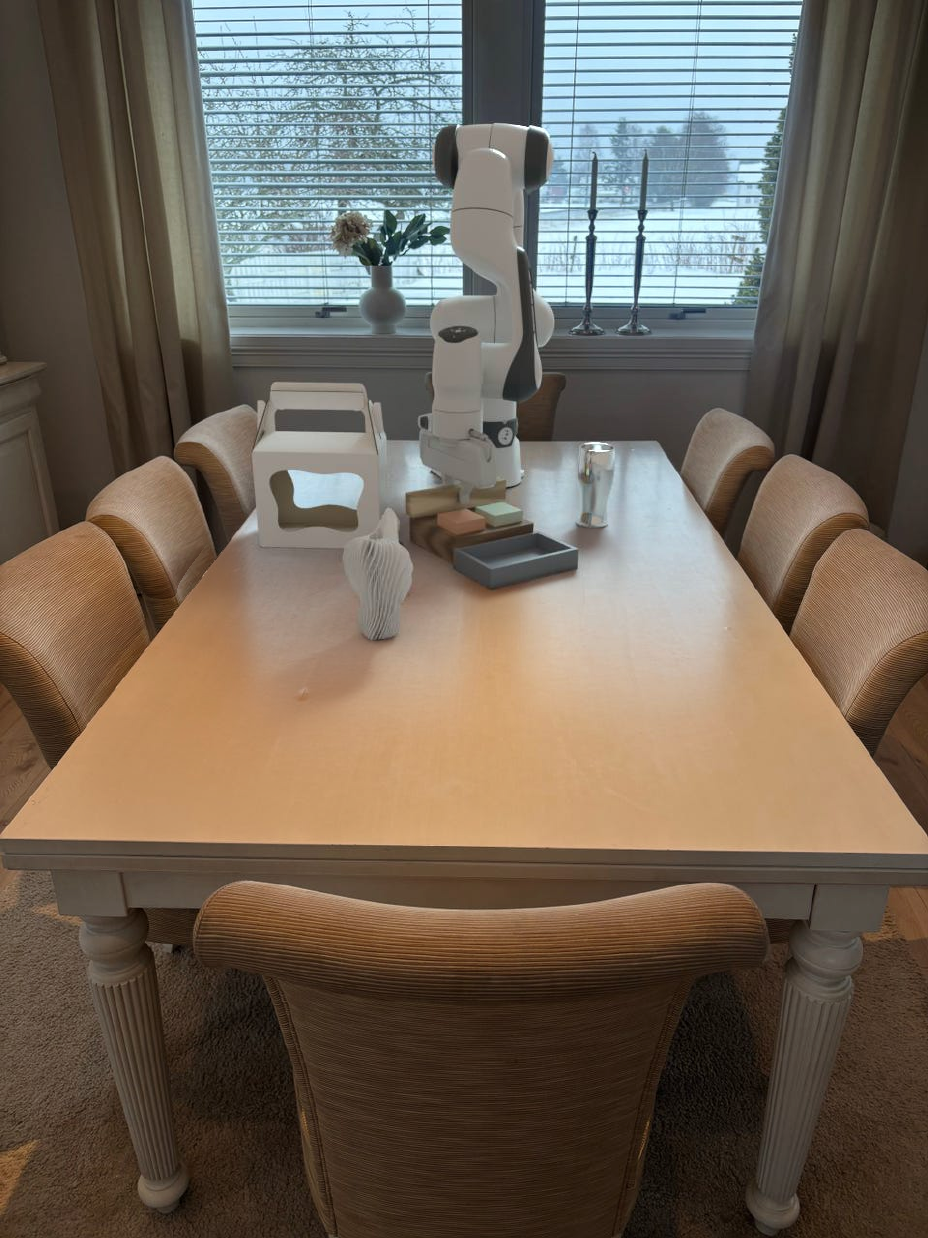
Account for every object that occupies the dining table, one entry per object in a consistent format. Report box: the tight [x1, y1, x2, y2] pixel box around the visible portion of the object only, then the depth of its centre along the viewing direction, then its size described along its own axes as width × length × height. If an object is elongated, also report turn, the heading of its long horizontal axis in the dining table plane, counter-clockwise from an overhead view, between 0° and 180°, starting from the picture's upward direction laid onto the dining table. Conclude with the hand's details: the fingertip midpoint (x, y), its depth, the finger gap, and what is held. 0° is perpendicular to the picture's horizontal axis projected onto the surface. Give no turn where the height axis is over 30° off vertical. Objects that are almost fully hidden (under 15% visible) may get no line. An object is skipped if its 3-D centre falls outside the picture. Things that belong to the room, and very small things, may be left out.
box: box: [452, 530, 580, 591], centre depth 157 cm, size 11×18×4 cm, turn 123°
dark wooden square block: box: [408, 504, 535, 565], centre depth 167 cm, size 16×16×5 cm
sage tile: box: [475, 501, 524, 527], centre depth 165 cm, size 6×6×2 cm
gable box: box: [251, 381, 389, 550], centre depth 166 cm, size 22×13×28 cm, turn 88°
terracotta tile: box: [437, 509, 485, 535], centre depth 161 cm, size 6×6×2 cm
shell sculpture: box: [342, 507, 414, 641], centre depth 129 cm, size 8×8×18 cm
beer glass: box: [575, 442, 616, 529], centre depth 177 cm, size 7×7×15 cm
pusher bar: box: [404, 477, 507, 518], centre depth 168 cm, size 2×20×4 cm, turn 123°
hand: (456, 500), depth 169 cm, fingers closed on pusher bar, 2 cm apart
